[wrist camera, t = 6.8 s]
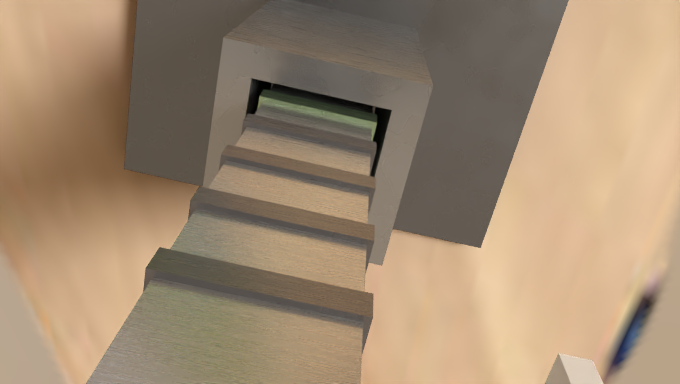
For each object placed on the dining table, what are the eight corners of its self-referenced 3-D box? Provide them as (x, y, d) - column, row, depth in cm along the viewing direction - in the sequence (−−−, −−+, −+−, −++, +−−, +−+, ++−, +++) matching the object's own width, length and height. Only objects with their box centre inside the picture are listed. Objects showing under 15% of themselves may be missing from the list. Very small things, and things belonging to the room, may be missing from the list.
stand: (155, -123, 32) (17, -143, 20) (569, -24, 33) (680, 13, 21) (131, 161, 39) (16, 276, 27) (477, 238, 40) (520, 384, 27)
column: (280, 63, 27) (-2, 490, 7) (377, 86, 27) (367, 565, 7) (264, 155, 29) (1, 701, 9) (355, 175, 29) (298, 759, 9)
